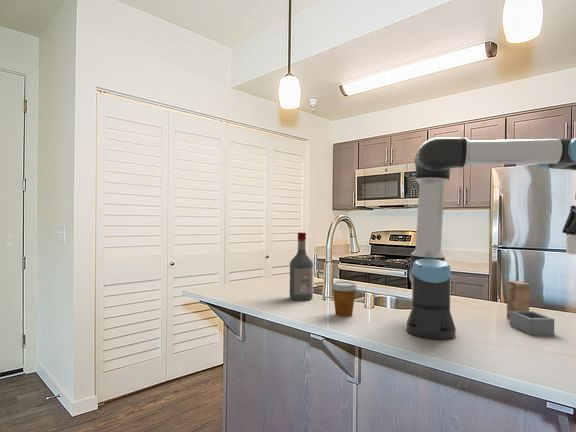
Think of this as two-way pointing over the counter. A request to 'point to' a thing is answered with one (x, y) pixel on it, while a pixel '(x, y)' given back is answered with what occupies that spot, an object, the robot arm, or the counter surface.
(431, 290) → the robot arm
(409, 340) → the counter surface
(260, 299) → the counter surface
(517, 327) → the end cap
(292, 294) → the liquor
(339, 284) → the disposable coffee cup
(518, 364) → the counter surface
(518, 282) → the tan tall block
